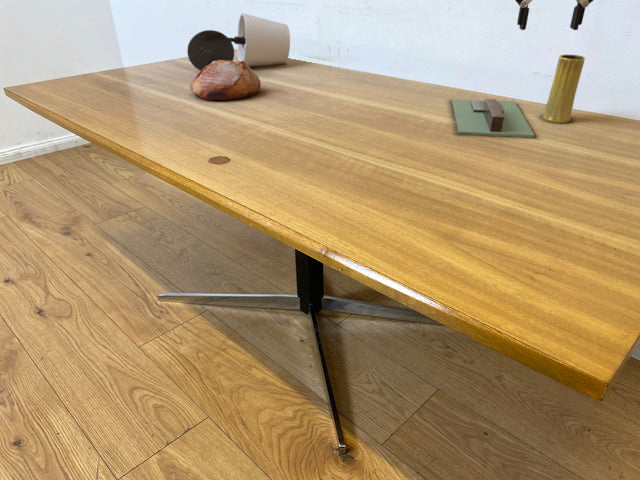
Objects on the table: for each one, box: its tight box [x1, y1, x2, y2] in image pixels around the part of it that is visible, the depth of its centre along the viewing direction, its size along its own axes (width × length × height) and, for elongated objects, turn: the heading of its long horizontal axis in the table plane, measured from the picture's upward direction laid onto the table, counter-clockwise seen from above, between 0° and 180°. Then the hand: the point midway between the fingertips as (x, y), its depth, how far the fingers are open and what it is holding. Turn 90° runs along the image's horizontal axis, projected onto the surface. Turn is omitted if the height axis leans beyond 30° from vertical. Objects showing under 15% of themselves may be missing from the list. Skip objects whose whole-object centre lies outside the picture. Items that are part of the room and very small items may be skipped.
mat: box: [451, 98, 536, 138], centre depth 117 cm, size 16×26×1 cm, turn 170°
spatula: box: [471, 98, 504, 132], centre depth 115 cm, size 22×7×3 cm, turn 170°
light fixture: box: [186, 12, 291, 72], centre depth 163 cm, size 17×19×34 cm
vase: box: [542, 54, 586, 124], centre depth 112 cm, size 6×6×14 cm
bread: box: [189, 60, 262, 102], centre depth 136 cm, size 16×20×10 cm
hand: (547, 29), depth 96 cm, fingers open, 9 cm apart
